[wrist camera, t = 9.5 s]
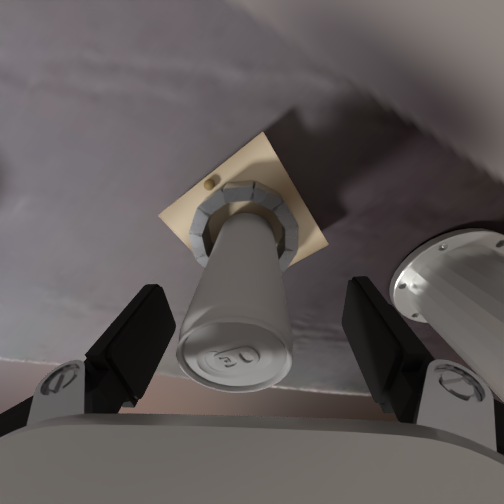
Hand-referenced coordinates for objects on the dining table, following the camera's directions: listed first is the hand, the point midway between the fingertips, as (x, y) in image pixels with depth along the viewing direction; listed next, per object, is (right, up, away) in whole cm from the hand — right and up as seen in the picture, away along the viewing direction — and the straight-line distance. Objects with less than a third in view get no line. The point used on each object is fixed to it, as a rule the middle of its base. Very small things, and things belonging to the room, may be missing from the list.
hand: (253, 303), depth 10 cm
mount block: (-1, +6, +10) cm, 12 cm away
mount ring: (-1, +5, +8) cm, 9 cm away
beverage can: (0, +4, +8) cm, 9 cm away
